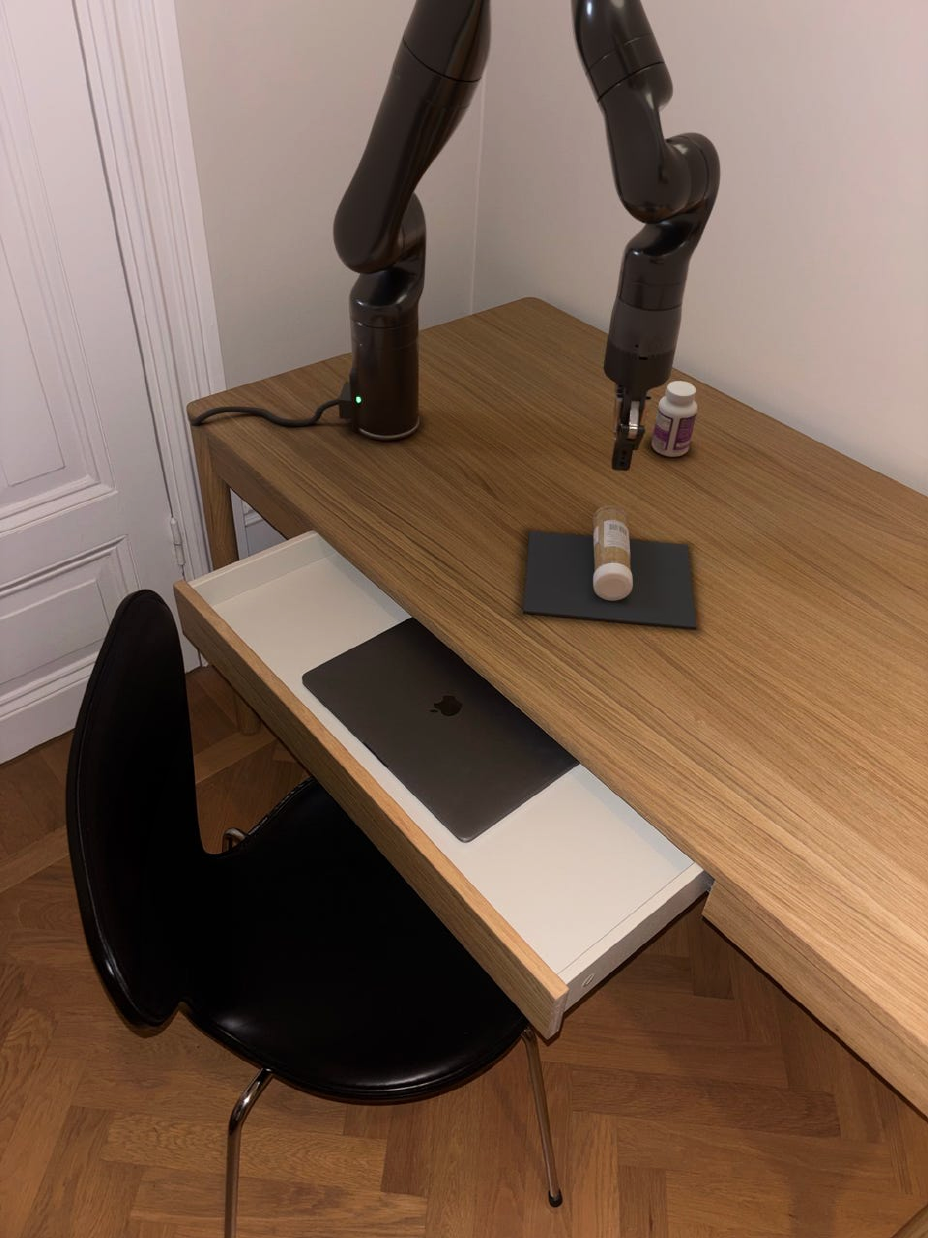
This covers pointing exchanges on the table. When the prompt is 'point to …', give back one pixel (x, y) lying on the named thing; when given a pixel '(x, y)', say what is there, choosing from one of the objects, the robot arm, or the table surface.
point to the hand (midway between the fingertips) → (620, 467)
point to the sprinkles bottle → (611, 553)
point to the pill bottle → (675, 419)
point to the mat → (568, 591)
